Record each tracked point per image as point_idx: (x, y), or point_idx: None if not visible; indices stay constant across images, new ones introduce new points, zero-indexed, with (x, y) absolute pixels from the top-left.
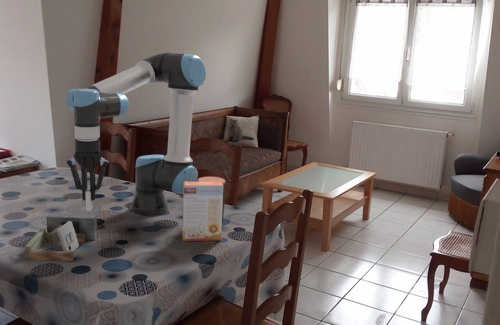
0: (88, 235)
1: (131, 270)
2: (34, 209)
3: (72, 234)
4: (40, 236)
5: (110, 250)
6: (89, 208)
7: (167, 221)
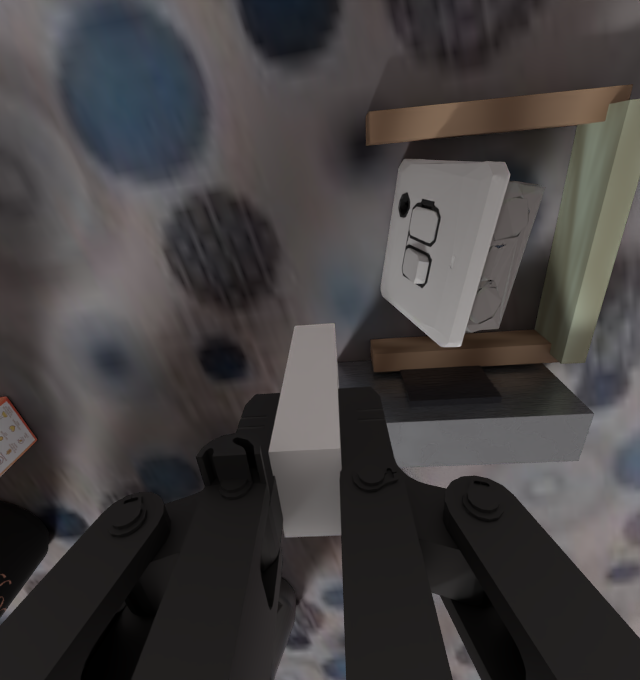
0: (360, 371)
1: (34, 33)
2: (604, 569)
3: (413, 274)
4: (576, 284)
5: (235, 271)
6: (302, 334)
7: None
